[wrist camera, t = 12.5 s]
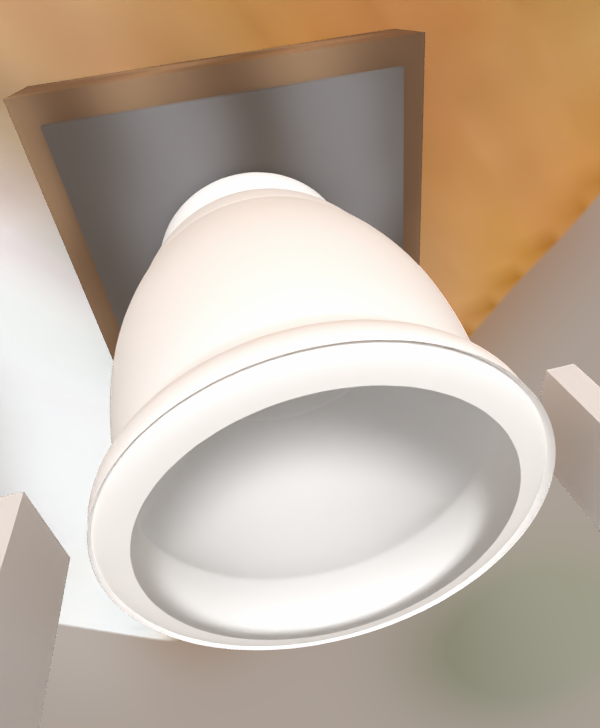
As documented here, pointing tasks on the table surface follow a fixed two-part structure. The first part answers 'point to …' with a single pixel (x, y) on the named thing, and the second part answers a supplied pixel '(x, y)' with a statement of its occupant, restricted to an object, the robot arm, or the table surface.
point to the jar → (302, 431)
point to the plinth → (223, 146)
